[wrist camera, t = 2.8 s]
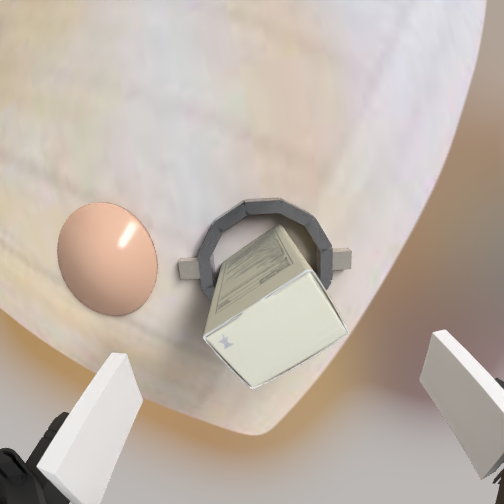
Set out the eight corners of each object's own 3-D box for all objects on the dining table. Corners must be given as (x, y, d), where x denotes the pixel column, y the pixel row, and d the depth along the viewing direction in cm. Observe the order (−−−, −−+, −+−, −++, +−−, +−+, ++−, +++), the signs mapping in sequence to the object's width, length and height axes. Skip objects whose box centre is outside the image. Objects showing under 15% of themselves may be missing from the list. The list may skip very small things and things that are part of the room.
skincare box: (249, 300, 26) (247, 395, 14) (220, 262, 25) (194, 340, 13) (310, 261, 25) (354, 336, 13) (283, 220, 24) (311, 268, 12)
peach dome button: (74, 311, 27) (72, 314, 26) (52, 210, 24) (49, 211, 23) (166, 312, 27) (165, 315, 26) (148, 195, 24) (146, 195, 23)
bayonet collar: (190, 321, 27) (186, 330, 25) (174, 205, 24) (168, 208, 22) (344, 311, 26) (350, 320, 25) (348, 195, 24) (355, 197, 22)
